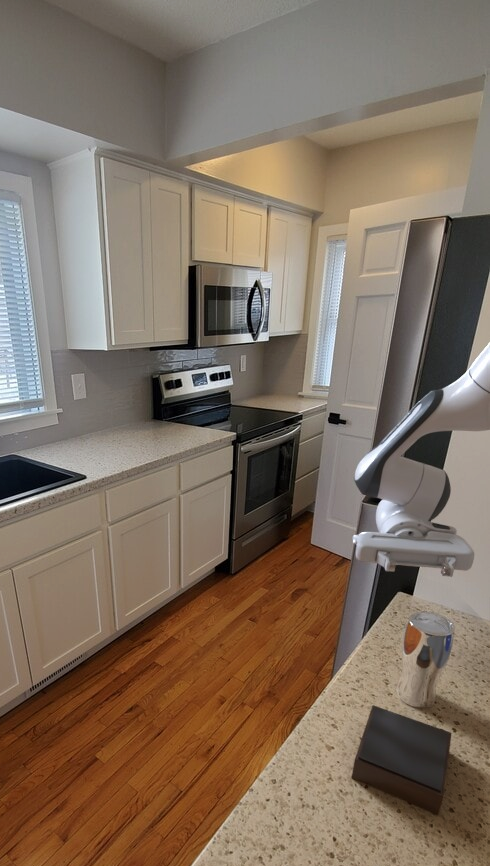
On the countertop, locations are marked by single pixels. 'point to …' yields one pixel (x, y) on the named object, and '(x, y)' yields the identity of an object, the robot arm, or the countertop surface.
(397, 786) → the riser
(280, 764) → the countertop surface
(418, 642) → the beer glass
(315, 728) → the countertop surface
